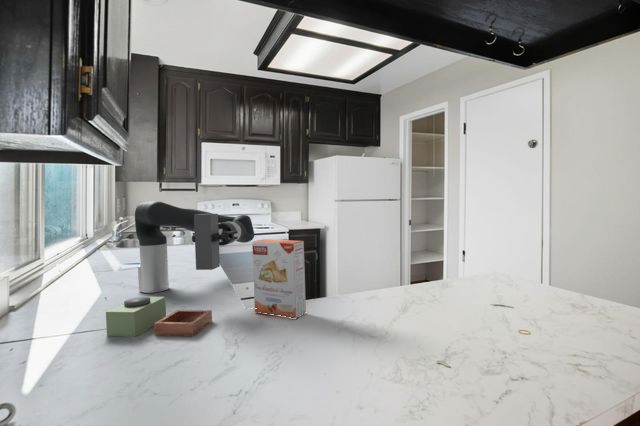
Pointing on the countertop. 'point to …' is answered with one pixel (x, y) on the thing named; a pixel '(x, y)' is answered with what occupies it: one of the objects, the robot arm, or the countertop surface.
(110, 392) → the countertop surface
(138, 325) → the green block with knob
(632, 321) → the countertop surface
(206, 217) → the block
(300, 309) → the cracker box
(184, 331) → the collar
